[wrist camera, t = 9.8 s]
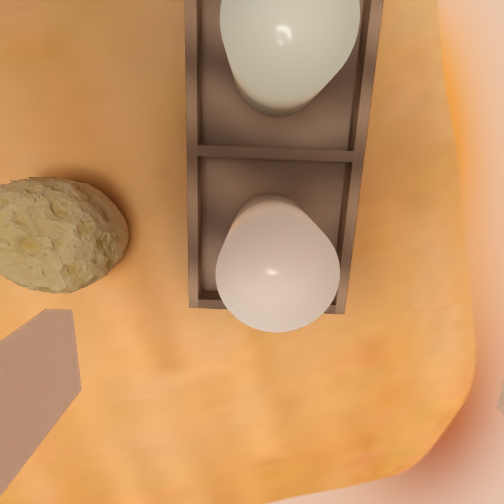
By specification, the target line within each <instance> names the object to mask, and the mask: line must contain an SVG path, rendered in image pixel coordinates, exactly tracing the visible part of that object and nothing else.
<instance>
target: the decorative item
mask: <svg viewBox="0 0 504 504" xmlns="http://www.w3.org/2000/svg"><path fill="white" fill-rule="evenodd" d="M29 178H30V179H23V180H19V181H12V180H10V181H11V183H9V184H1V185H0V274H1V275H2V276H3V277H5V278H6V279H8V280H10V281H12V282H14V283H16V284H17V285H20V286H22V287H28V288H29V290H38V291H42V292H50V293H71V292H74V291H77V290H79V289H81V288H85V287H87V286H88V285H90V284H92V283H94V282H96V281H97V280H99V279H101V278H102V277H104V276H106V275H107V274H108V272H109V271H110V270H111V269H112V267H114V266H115V264H116V263H118V262H119V261H120V260H121V259H122V258H123V256H124V252H125V249H126V247H127V244H128V242H129V232H128V226H127V222H126V220H125V218H124V216H123V215H122V213H121V212H120V211H119V210H118V208H117V206H116V205H115V204H114V203H113V202H112V201H111V200H110V199H109V198H108V197H107V196H106V195H105V194H104V193H103V192H101V191H100V190H98V189H96V188H94V187H93V186H91V185H90V184H87V183H80V182H76V181H73V180H68V179H64V178H56V177H54V178H46V177H29Z"/></svg>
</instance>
